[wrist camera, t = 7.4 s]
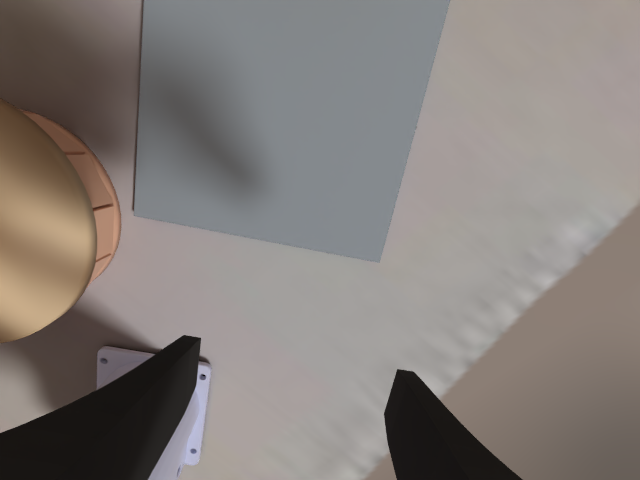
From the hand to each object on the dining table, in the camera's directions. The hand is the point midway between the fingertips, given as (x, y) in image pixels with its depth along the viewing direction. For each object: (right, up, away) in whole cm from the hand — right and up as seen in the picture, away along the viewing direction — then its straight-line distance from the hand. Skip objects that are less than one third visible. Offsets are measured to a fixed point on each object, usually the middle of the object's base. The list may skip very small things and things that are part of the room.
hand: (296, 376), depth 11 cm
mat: (-1, +13, +7) cm, 15 cm away
